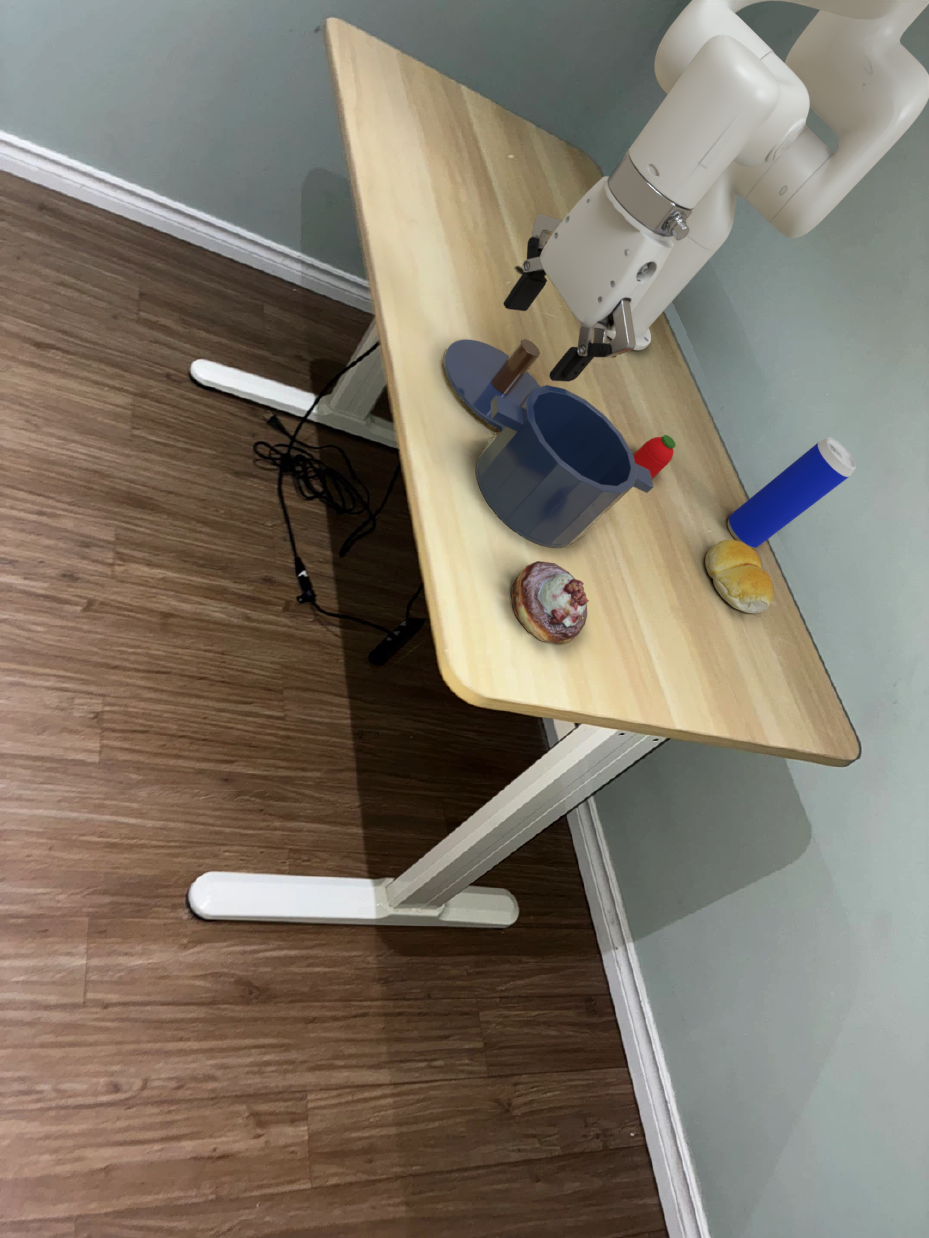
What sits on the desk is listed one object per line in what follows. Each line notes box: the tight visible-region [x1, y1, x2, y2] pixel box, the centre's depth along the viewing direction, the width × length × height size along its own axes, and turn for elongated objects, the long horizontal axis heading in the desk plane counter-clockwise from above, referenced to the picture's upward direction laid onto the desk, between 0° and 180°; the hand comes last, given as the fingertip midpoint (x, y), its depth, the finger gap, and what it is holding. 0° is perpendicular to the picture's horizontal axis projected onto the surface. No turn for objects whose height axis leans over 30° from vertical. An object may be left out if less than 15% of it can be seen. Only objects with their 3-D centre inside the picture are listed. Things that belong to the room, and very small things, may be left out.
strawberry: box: [633, 434, 676, 479], centre depth 95 cm, size 4×4×4 cm
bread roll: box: [704, 538, 774, 614], centre depth 91 cm, size 8×9×4 cm
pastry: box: [511, 560, 590, 645], centre depth 70 cm, size 8×8×5 cm
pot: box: [475, 385, 654, 549], centre depth 77 cm, size 13×18×8 cm
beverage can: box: [727, 437, 857, 549], centre depth 96 cm, size 5×5×15 cm
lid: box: [443, 338, 541, 431], centre depth 85 cm, size 14×14×7 cm
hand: (536, 343), depth 83 cm, fingers open, 9 cm apart
